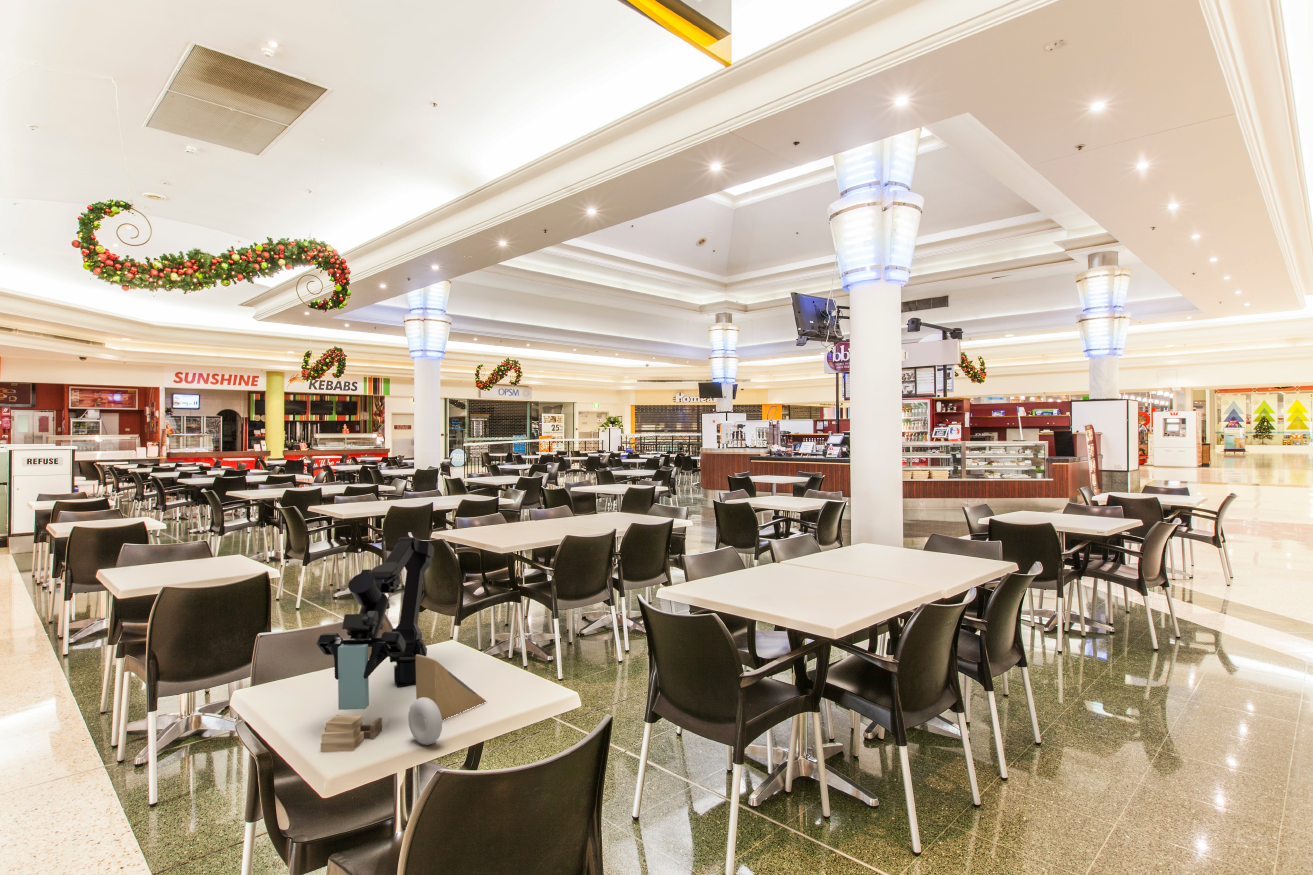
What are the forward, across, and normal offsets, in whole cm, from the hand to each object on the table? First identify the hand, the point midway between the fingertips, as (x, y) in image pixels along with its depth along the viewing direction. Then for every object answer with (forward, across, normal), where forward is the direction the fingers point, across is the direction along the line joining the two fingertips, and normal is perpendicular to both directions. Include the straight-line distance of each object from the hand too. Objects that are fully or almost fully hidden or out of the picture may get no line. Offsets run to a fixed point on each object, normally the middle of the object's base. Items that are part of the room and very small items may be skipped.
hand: (350, 678), depth 142 cm
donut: (+12, +18, +7) cm, 23 cm away
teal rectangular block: (+4, 0, +6) cm, 7 cm away
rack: (+8, 0, +10) cm, 13 cm away
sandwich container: (-1, +18, +20) cm, 27 cm away
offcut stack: (+12, 0, +7) cm, 14 cm away
